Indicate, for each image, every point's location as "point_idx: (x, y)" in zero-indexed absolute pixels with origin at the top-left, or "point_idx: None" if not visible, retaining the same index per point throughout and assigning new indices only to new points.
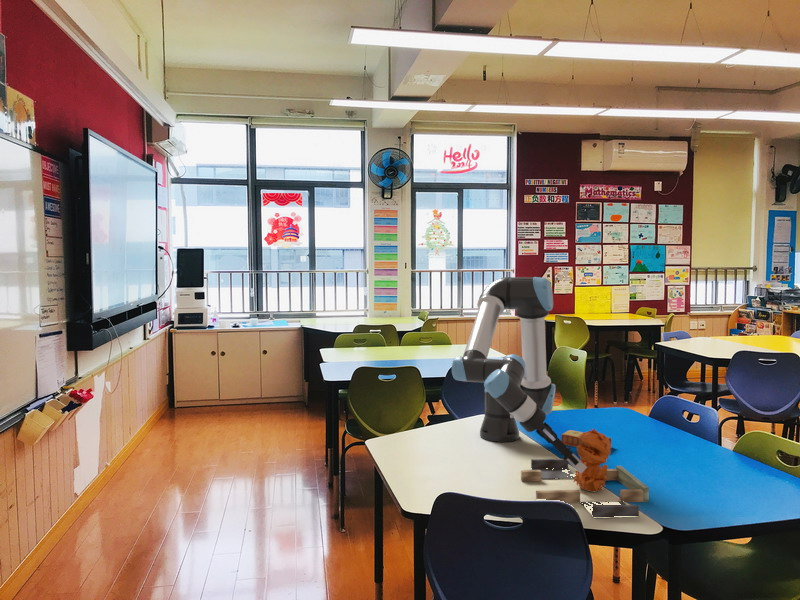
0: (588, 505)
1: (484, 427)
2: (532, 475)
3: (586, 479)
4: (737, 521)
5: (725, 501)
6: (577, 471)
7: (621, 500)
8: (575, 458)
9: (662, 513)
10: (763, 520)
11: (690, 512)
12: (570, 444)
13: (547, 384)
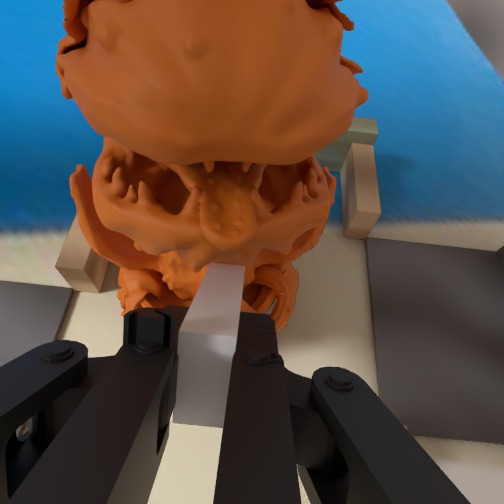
0: (429, 407)
1: None
2: None
3: (262, 310)
4: (472, 56)
5: (349, 17)
6: (137, 304)
7: (360, 236)
8: (276, 337)
9: (452, 171)
10: (455, 19)
11: (431, 106)
12: None
13: None
